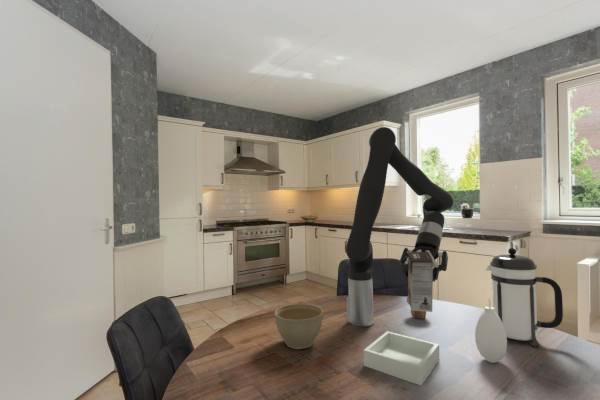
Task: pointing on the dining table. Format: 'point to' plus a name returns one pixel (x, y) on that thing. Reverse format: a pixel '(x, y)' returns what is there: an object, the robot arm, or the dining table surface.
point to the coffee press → (520, 296)
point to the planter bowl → (299, 324)
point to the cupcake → (417, 312)
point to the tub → (402, 357)
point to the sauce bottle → (491, 335)
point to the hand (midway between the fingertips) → (418, 278)
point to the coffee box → (420, 281)
